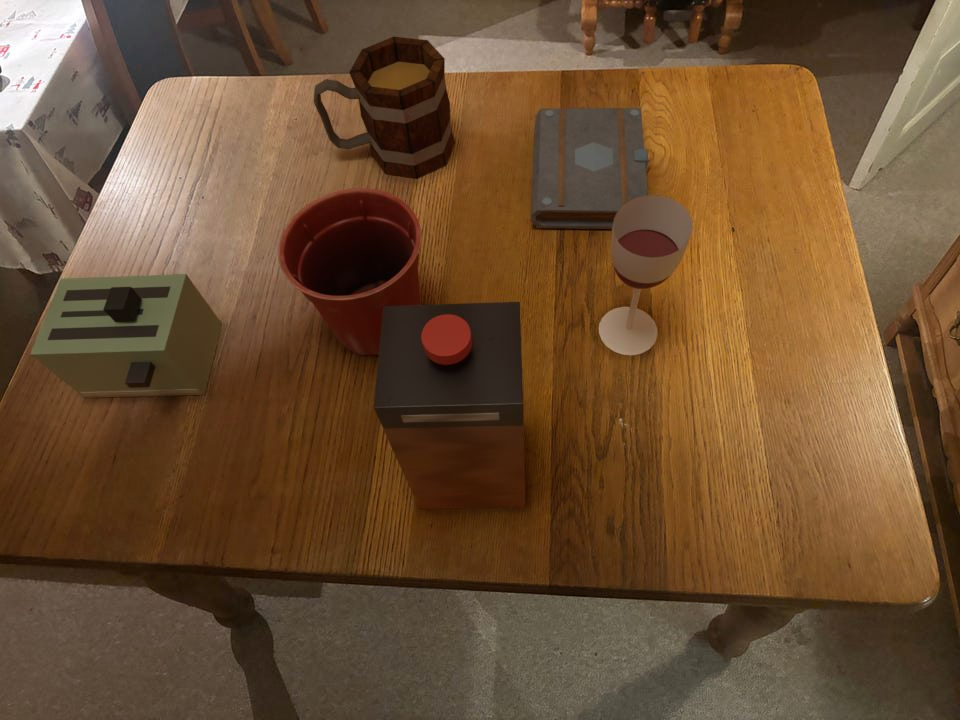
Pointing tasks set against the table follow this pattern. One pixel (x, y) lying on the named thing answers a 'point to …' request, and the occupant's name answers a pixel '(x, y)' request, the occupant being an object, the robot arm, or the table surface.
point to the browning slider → (122, 304)
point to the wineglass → (643, 265)
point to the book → (586, 166)
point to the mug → (398, 106)
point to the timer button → (446, 339)
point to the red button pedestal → (455, 407)
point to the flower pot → (354, 261)
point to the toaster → (129, 338)
